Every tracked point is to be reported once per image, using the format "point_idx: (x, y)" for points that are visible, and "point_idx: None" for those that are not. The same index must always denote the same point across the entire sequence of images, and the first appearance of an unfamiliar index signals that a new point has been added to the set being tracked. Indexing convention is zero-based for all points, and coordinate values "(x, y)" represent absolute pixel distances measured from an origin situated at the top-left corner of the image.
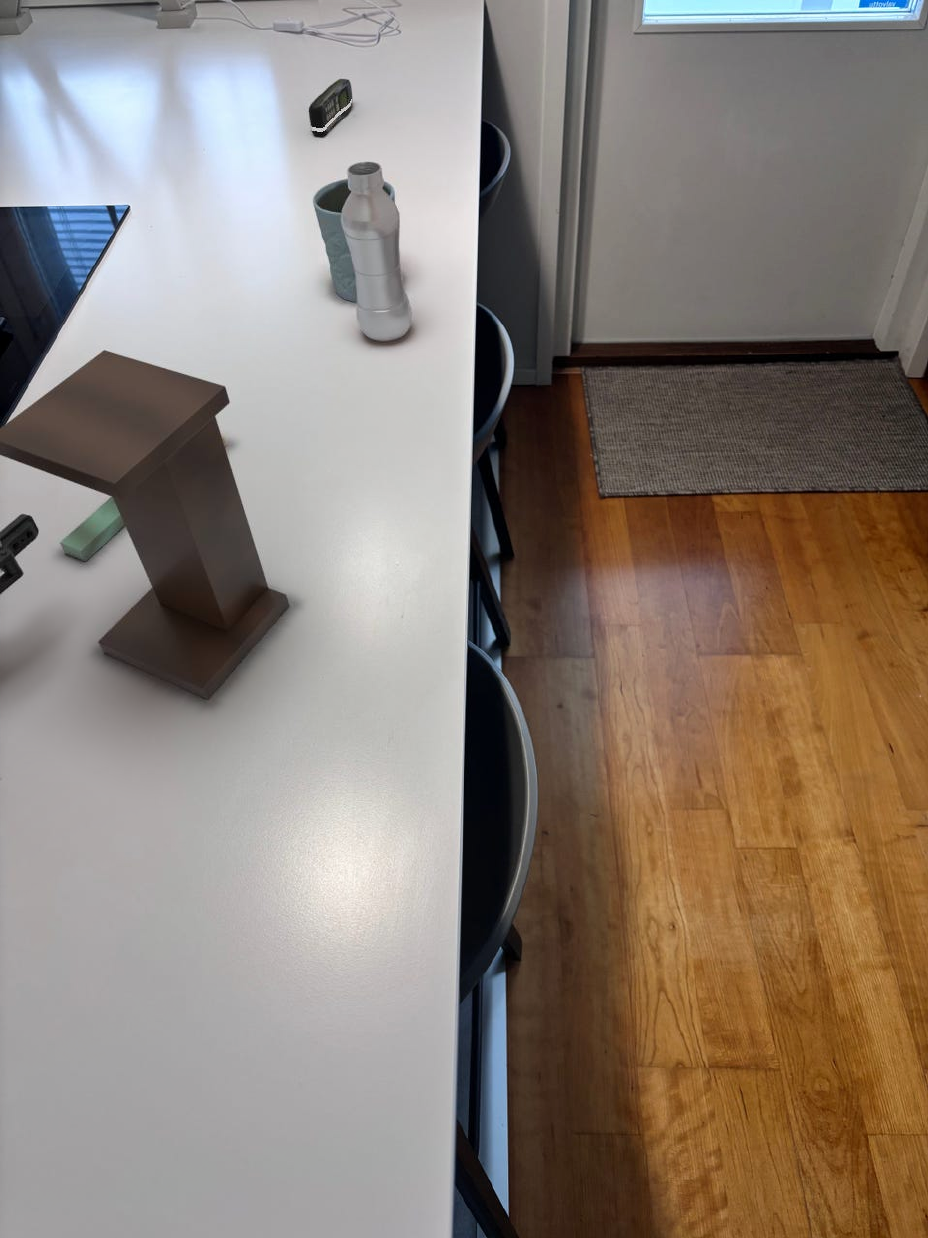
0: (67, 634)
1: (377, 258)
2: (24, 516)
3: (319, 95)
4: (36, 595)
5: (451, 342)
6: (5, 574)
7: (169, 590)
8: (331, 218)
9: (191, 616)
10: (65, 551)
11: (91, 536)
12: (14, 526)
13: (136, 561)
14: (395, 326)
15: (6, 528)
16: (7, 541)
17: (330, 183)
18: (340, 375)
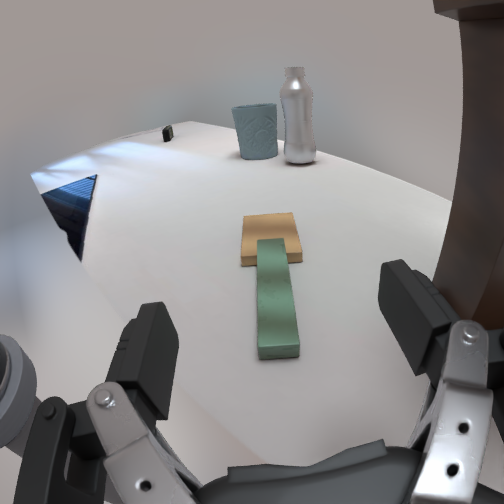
0: (395, 446)
1: (308, 110)
2: (401, 262)
3: (164, 128)
4: (286, 428)
5: (337, 159)
6: (496, 390)
7: (496, 307)
8: (254, 110)
9: (494, 329)
10: (263, 356)
11: (290, 322)
12: (423, 284)
13: (354, 327)
14: (314, 152)
15: (417, 296)
16: (453, 319)
17: (234, 107)
18: (306, 177)
